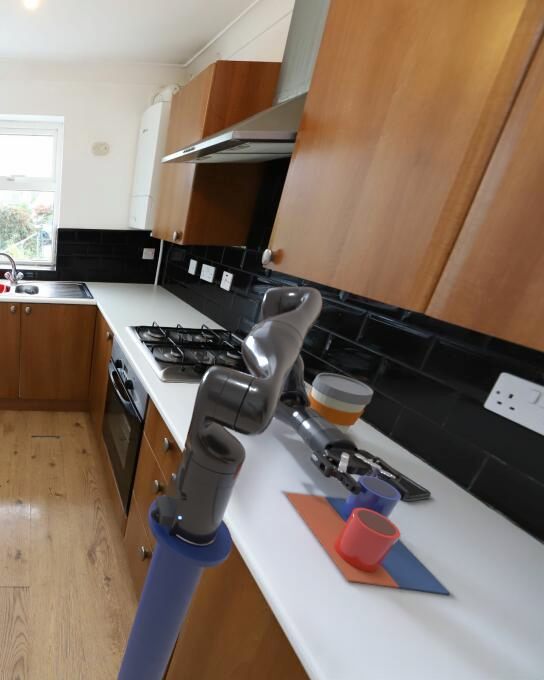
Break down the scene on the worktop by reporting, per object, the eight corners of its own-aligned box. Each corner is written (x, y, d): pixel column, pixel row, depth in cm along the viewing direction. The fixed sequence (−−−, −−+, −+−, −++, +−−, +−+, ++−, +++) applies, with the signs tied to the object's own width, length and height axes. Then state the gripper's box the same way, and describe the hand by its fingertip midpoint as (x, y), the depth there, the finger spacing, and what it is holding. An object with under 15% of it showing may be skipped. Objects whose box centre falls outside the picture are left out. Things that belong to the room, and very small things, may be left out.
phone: (363, 448, 91) (434, 494, 78) (361, 452, 92) (431, 497, 78) (339, 451, 90) (407, 498, 76) (337, 455, 90) (405, 502, 77)
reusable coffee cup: (360, 437, 98) (385, 391, 92) (333, 446, 93) (357, 399, 88) (313, 412, 109) (333, 370, 103) (287, 419, 104) (305, 375, 98)
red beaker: (349, 570, 61) (371, 535, 58) (326, 538, 67) (344, 505, 63) (387, 575, 61) (411, 540, 57) (360, 542, 66) (380, 509, 63)
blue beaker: (356, 529, 69) (375, 497, 66) (334, 504, 75) (351, 473, 71) (389, 533, 69) (410, 501, 65) (365, 507, 74) (383, 477, 71)
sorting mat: (348, 581, 60) (349, 579, 59) (285, 493, 77) (286, 492, 77) (449, 595, 58) (450, 593, 58) (362, 503, 76) (363, 501, 76)
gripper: (300, 423, 82) (351, 475, 67) (364, 430, 81) (431, 484, 66) (288, 449, 84) (335, 504, 70) (351, 456, 83) (411, 513, 69)
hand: (381, 494), depth 68 cm, fingers open, 8 cm apart
